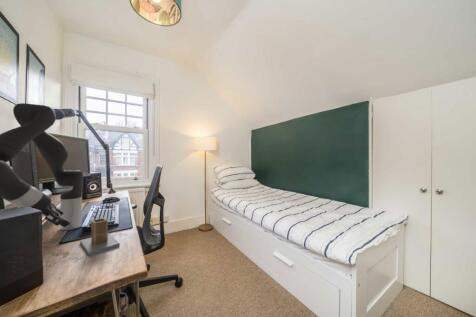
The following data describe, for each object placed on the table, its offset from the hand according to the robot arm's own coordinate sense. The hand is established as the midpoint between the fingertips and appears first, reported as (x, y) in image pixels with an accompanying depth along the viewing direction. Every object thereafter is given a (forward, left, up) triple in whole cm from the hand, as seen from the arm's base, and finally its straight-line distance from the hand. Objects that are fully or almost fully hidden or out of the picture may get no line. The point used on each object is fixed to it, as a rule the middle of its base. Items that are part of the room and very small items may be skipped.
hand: (64, 219), depth 79 cm
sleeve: (+6, +11, -12) cm, 17 cm away
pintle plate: (+6, +11, -13) cm, 18 cm away
